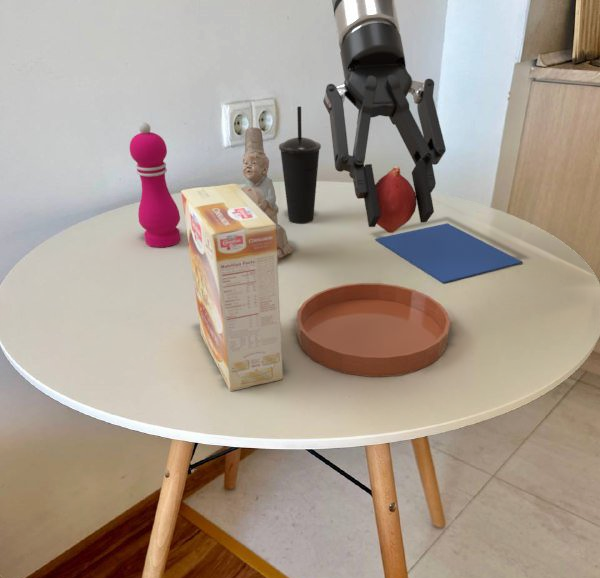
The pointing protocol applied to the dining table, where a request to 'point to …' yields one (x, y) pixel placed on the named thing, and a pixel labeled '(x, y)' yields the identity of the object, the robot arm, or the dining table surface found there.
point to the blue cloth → (447, 252)
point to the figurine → (262, 185)
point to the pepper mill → (154, 190)
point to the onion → (395, 200)
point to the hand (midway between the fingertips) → (401, 219)
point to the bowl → (372, 329)
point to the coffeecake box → (235, 283)
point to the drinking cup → (300, 175)
